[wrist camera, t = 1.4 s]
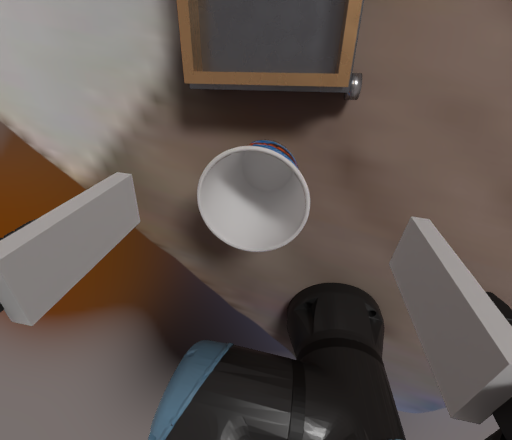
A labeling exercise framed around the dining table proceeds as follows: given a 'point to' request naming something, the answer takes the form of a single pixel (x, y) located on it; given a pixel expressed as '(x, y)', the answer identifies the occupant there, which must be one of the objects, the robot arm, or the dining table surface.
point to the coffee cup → (254, 197)
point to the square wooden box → (271, 45)
